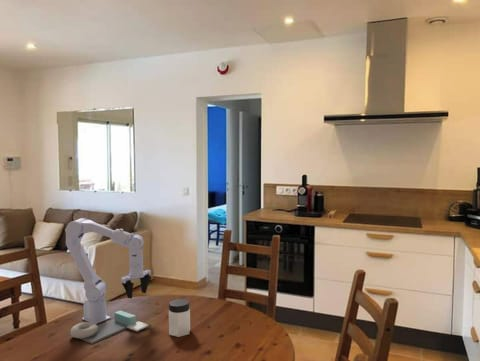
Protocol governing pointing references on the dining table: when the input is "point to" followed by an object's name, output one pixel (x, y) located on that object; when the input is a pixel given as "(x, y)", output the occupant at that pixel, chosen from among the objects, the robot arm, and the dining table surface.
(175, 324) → the jar
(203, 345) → the dining table surface
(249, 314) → the dining table surface
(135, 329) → the turner
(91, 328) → the donut
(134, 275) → the robot arm
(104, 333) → the slate board
